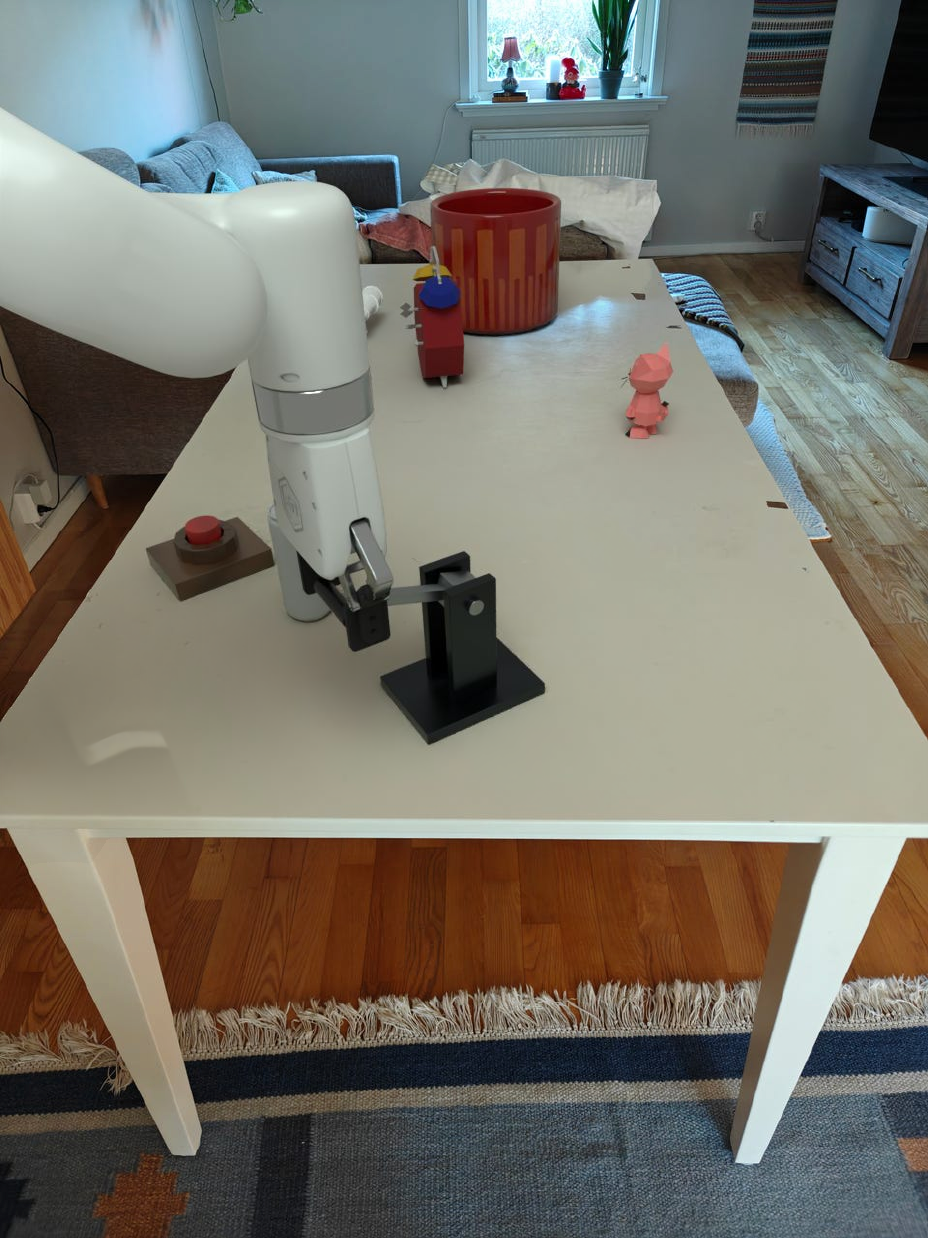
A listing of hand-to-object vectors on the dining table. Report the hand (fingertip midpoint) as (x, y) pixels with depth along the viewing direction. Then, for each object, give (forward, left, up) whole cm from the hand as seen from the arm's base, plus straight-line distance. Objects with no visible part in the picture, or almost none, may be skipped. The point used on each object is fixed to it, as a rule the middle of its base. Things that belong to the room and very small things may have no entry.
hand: (345, 613), depth 66 cm
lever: (+3, +4, -1) cm, 5 cm away
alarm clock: (-23, +78, -13) cm, 82 cm away
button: (-27, +19, -9) cm, 34 cm away
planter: (-22, +109, -13) cm, 112 cm away
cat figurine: (+13, +66, -13) cm, 68 cm away
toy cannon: (-44, +95, -13) cm, 105 cm away
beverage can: (-13, +15, -13) cm, 23 cm away
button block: (-27, +19, -13) cm, 36 cm away
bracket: (+6, +8, -13) cm, 16 cm away
